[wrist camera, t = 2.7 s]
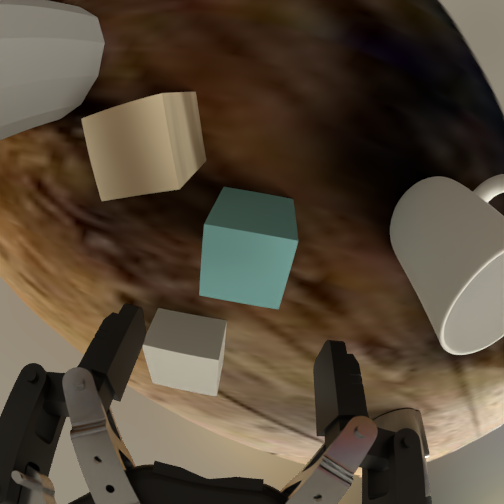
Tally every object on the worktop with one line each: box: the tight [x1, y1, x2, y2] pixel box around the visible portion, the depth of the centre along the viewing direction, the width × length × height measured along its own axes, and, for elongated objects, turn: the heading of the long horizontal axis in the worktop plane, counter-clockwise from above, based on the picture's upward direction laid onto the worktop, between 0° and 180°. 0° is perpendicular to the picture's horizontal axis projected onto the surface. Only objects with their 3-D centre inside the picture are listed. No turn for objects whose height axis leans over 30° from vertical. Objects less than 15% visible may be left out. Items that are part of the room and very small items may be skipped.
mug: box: [390, 174, 504, 355], centre depth 14 cm, size 12×8×10 cm
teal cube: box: [199, 187, 298, 309], centre depth 19 cm, size 5×5×6 cm
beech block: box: [81, 92, 206, 201], centre depth 15 cm, size 5×5×6 cm
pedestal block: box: [142, 308, 227, 397], centre depth 27 cm, size 7×7×5 cm
